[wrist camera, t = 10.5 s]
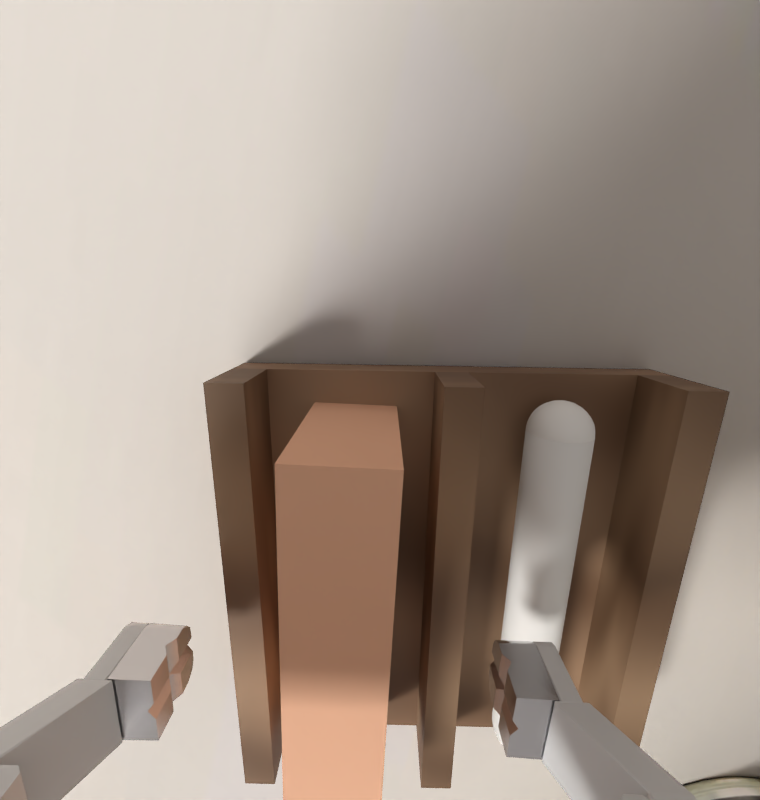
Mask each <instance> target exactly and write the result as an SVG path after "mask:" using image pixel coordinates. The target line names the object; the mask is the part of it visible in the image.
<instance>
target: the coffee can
mask: <svg viewBox="0 0 760 800" xmlns="http://www.w3.org/2000/svg"><path fill="white" fill-rule="evenodd" d="M684 787H685V788H686V789H687V790H688V791H690V792H691V793H692V794H693V795H694V796H695V798H696V799H697V800H760V779H756V778H744V777H725V778H717V779H710V780H704V781H699V782H696V783H692V784H688V785H684Z"/></svg>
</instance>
